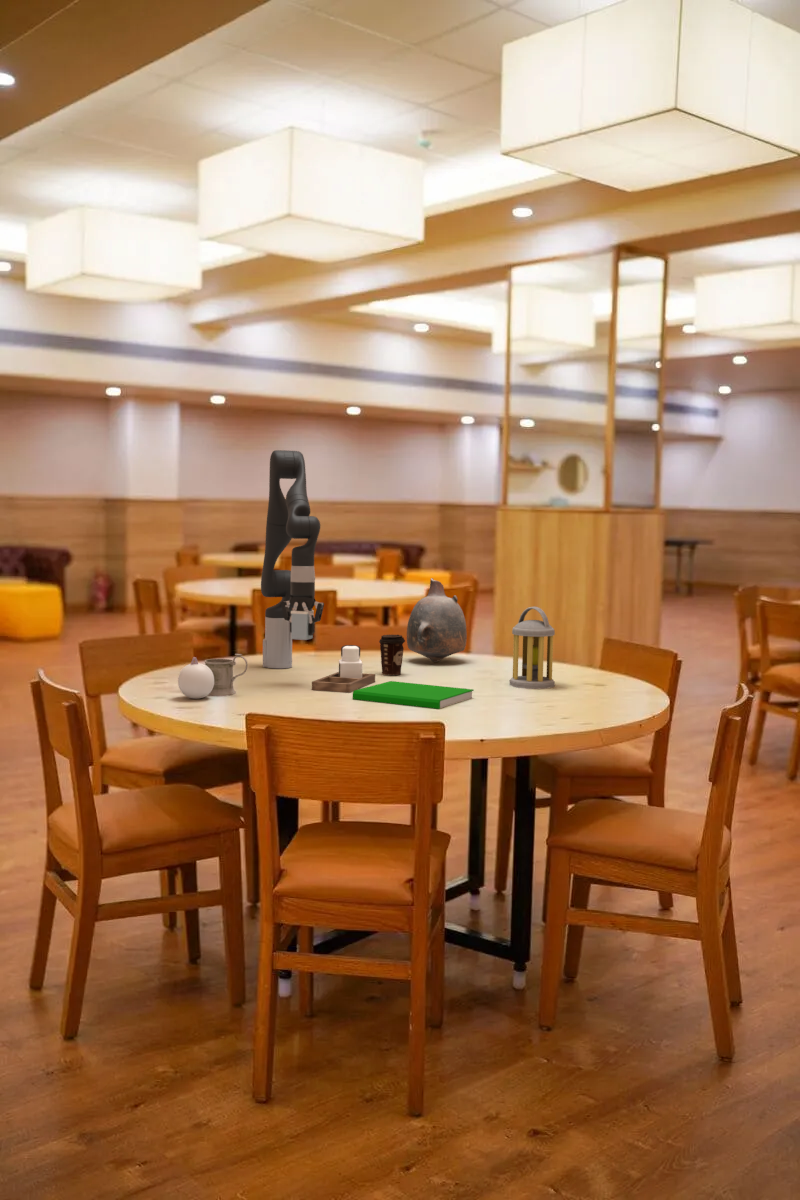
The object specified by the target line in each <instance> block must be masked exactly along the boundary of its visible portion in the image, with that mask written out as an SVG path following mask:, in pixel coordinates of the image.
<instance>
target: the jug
mask: <svg viewBox="0 0 800 1200" xmlns="http://www.w3.org/2000/svg"><path fill="white" fill-rule="evenodd" d="M444 589H445V588H444V585H443V583H442V582H441V581H439V580H435V579H434V578H432V577H431V578H430V582H429V590H428V594H427V596H425V597H423V598H421V599H420V600H418V601H417V602H416V604H415V605H414V606H413V609H412V611H411V612H410V614H409V615H410V616H409V618H408V621H407V627H406V645H407V649H409V650H410V651H412V652H414V653H416V654H419V655H421V656H423V657H425V658H427V659H429V660H431V661H432V662H434V663H435V662H436V663H437V662H439V661H442V660H444V659H446V658H447V657H449V656H451V655H455V654H458V653H460V652H464V650H466V646H467V641H468V640H467V639H468V638H467V637H468V635H467V634H468V633H467V631H468V630H467V623H466V618H465V615H464V611H463V609H462V607H461V606H460V604H459V603H458V597H457V595H453V596H452V597H448V596H447V595H446V593H445V590H444Z"/></svg>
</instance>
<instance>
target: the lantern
mask: <svg viewBox="0 0 800 1200" xmlns="http://www.w3.org/2000/svg"><path fill="white" fill-rule="evenodd" d="M531 610H535V611H536V612H538V613H539V614H540V615H539V616H541V618H542V620H539V619H526V620H525V618H526V615H527V614H528V612H529V611H531ZM511 633H512V635H513V645H512V646H513V647H512V648H513V650H512V653H513V655H512V677H511V678H510V680H509V686H510V687H511V686H512V687H514V688H521V689H528V690H529V689H533V690H536V689H538V690H540V689H550V688H554V687H555V685H556V683H555V680H554V679H553V659H554V658H553V656H554V655H553V654H554V653H553V652H554V651H553V650H554V636H555V635H556V633H555V628H553V626H552V625H550V623H549V619H548V616H547V614H546V613H545V611H544V610H543V609H542V608H541V607H538V606H530V607H527V608H525V609H524V610H523V611H522V613H521V614H520V617H519V619H518V622H517V624H515V625H514V626H513V627H512V630H511ZM520 636H521V637H522V655H521V656H522V657H521V658H522V659H521V661H522V662H521V665H522V667H521V675H519V649H520V648H519V646H520V645H519V644H520V643H519V642H520ZM545 637H547V638H546V639H547V642H546V644H547V646H546V647H547V648H546V650H547V651H546V676H544V654H545V653H544V650H545V648H544V647H545V646H544V645H545Z"/></svg>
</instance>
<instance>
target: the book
mask: <svg viewBox="0 0 800 1200" xmlns="http://www.w3.org/2000/svg"><path fill="white" fill-rule="evenodd" d="M473 691H474V689H473V688H471V689H470V688H463V687H461V688H460V687H454V686H453V687H452V686H442V685H434V684H433V685H432V684H424V683H423V684H422V683H413V682H405V681H404V682H403V681H394V680H391V681H386V682H382V683H381V682H380V683H378V684H375V685H370V686H365V687H362V688H360V689H357V690H354V691H353V692H352V700H355V701H364V702H374V703H383V704H391V705H398V706H399V705H400V706H406V707H407V706H408V707H417V708H425V709H426V708H427V709H434V710H435V709H436V710H440V709H442V708H445V707H448V706H451V705H454V704H455V705H456V704H458V703H461V702H464V701H467V700H470V699H472V698H473Z"/></svg>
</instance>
